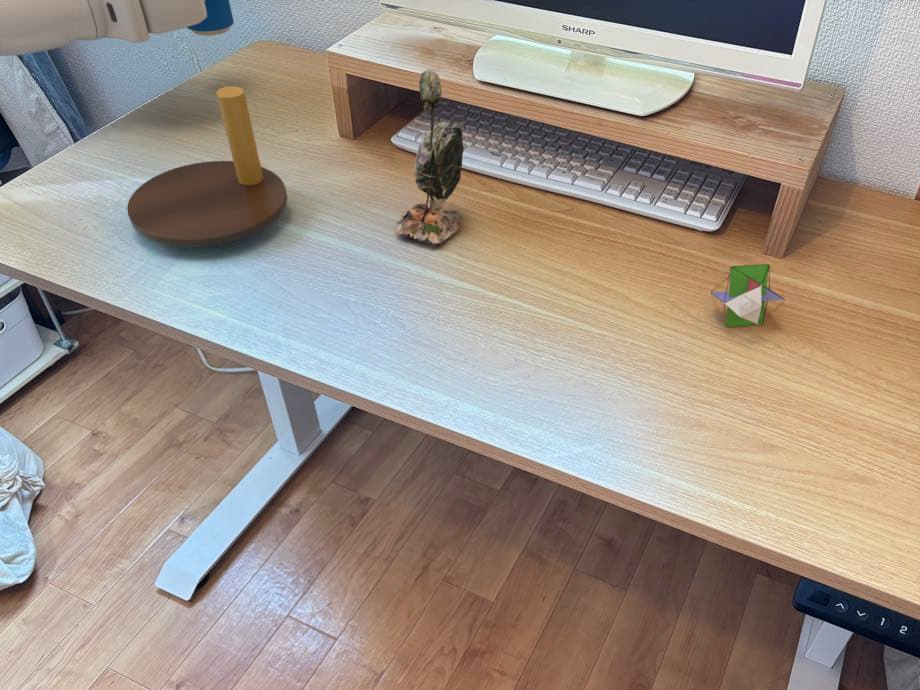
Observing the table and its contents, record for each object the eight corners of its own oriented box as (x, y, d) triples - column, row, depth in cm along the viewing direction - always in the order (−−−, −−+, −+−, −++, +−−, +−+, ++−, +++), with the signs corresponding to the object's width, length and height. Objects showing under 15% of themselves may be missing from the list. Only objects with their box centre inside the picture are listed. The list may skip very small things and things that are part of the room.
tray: (100, 205, 94) (61, 107, 86) (231, 153, 104) (207, 61, 96) (185, 266, 86) (151, 165, 78) (318, 204, 96) (301, 108, 88)
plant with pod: (486, 213, 100) (485, 51, 86) (432, 256, 93) (421, 86, 79) (434, 194, 103) (425, 34, 88) (378, 233, 96) (358, 66, 81)
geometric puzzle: (700, 276, 88) (725, 252, 80) (759, 273, 89) (789, 249, 81) (708, 339, 87) (733, 321, 80) (767, 335, 88) (798, 317, 80)
